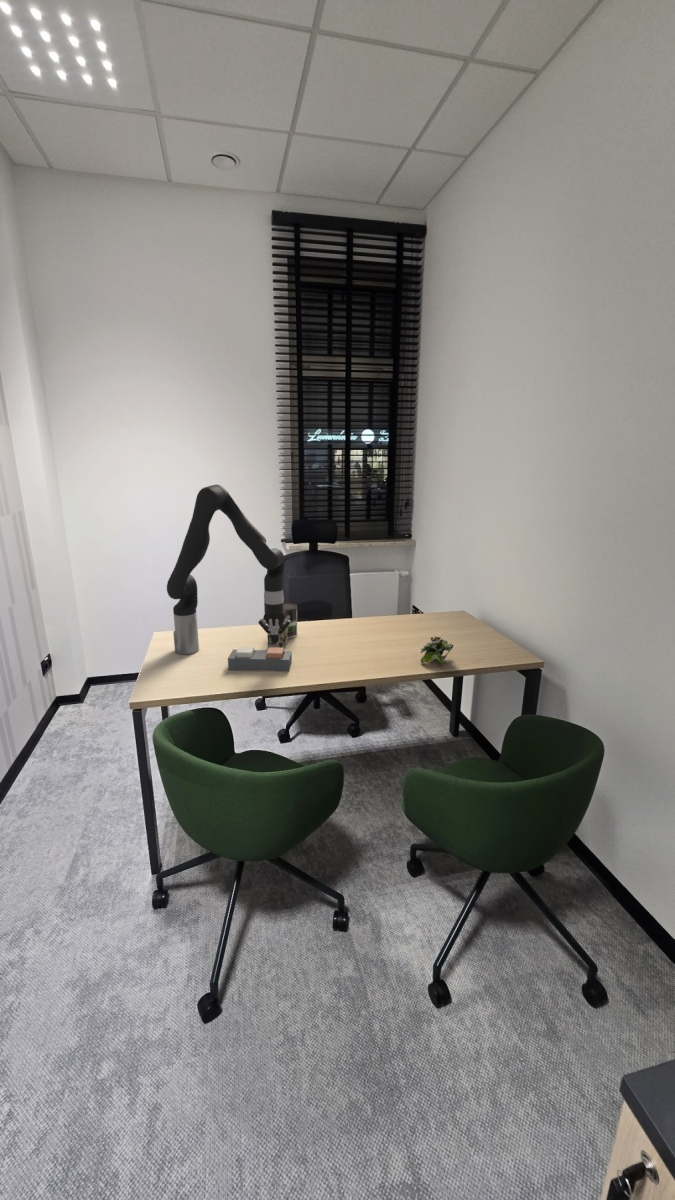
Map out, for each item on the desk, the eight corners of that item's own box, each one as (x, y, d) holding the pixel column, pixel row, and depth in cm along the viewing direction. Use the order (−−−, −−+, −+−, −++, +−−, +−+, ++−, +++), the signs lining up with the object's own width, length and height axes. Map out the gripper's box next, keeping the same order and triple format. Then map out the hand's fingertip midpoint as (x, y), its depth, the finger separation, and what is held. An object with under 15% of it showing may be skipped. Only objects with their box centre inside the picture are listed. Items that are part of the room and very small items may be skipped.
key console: (228, 670, 190) (227, 658, 188) (233, 660, 198) (233, 649, 197) (289, 671, 189) (289, 659, 188) (291, 662, 198) (291, 650, 197)
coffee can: (292, 639, 222) (292, 610, 218) (272, 637, 225) (271, 608, 221) (300, 632, 232) (300, 604, 228) (281, 629, 234) (280, 602, 230)
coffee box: (281, 652, 208) (280, 616, 203) (267, 650, 209) (266, 615, 205) (287, 644, 217) (287, 610, 212) (274, 643, 218) (273, 609, 213)
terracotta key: (266, 660, 190) (266, 653, 189) (269, 654, 196) (268, 647, 195) (281, 660, 190) (281, 653, 189) (283, 654, 195) (283, 647, 195)
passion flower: (432, 671, 206) (447, 643, 207) (448, 678, 195) (464, 649, 196) (410, 657, 202) (426, 629, 203) (425, 663, 191) (441, 634, 192)
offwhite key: (236, 659, 190) (236, 652, 189) (239, 653, 196) (239, 646, 195) (251, 659, 190) (251, 652, 189) (254, 653, 196) (254, 646, 195)
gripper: (255, 603, 182) (256, 646, 187) (289, 604, 182) (290, 646, 187) (258, 597, 190) (260, 639, 194) (292, 598, 189) (292, 639, 194)
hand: (275, 642), depth 191 cm, fingers closed
